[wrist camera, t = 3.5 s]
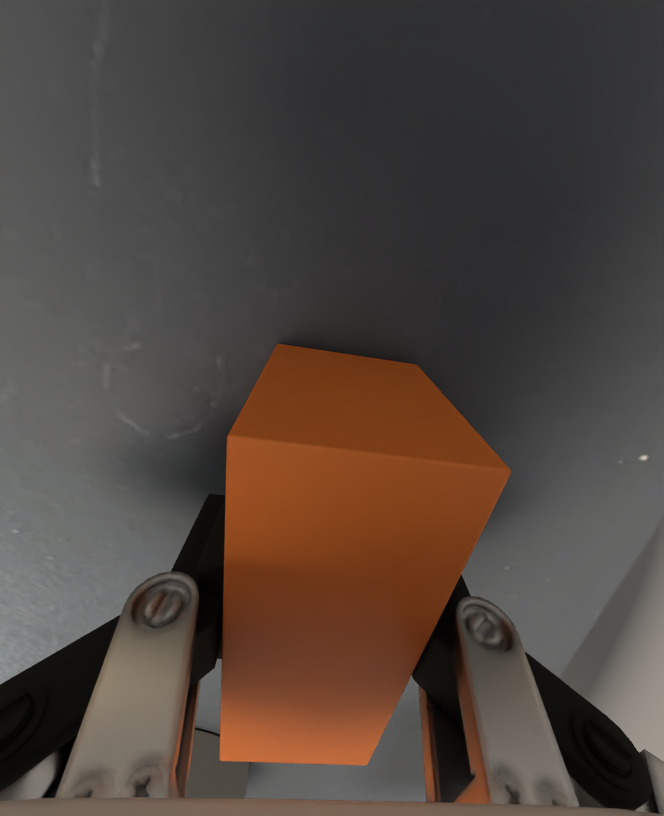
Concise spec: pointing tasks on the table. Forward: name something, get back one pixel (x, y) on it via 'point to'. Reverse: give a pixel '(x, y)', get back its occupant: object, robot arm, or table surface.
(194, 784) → the coffee mug
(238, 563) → the block
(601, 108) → the table surface
